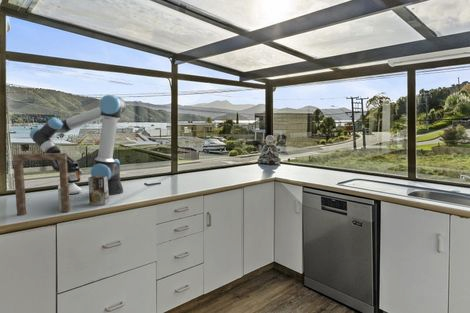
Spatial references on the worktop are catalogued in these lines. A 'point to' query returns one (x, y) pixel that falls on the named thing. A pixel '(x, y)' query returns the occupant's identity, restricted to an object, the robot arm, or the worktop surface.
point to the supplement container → (73, 172)
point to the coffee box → (98, 190)
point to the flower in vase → (74, 188)
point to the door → (59, 198)
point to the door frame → (20, 178)
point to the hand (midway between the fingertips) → (74, 175)
